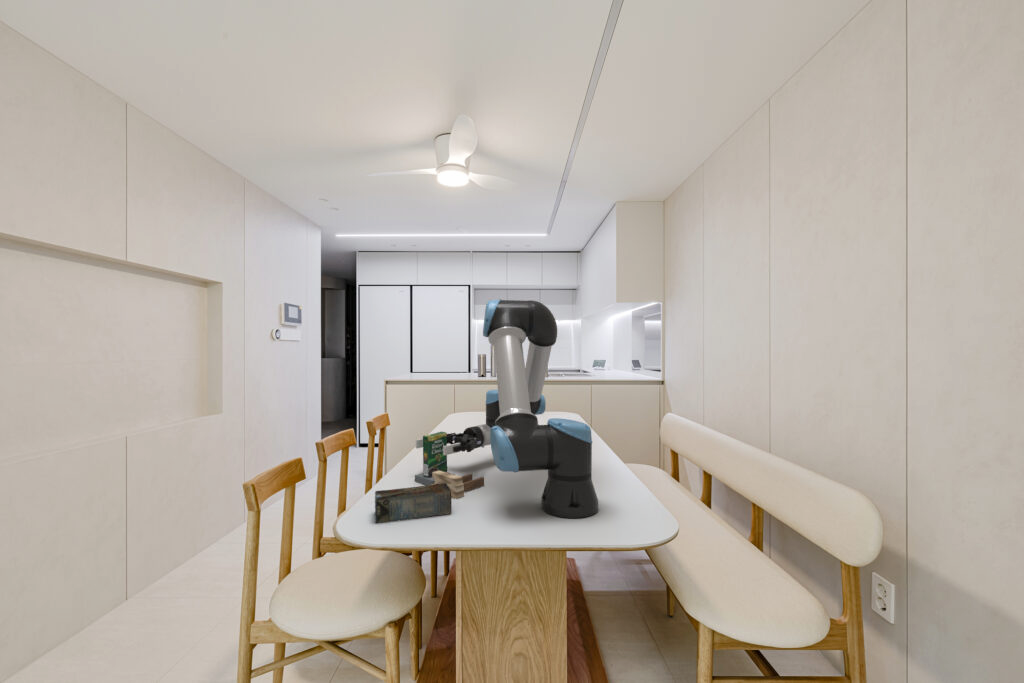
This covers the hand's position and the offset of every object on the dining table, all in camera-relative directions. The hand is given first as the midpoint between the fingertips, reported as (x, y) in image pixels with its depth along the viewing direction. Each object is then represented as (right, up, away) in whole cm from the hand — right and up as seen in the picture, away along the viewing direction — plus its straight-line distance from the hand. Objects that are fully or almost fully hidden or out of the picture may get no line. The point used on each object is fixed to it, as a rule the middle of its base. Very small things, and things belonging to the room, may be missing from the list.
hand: (429, 447), depth 137 cm
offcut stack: (+7, -11, -10) cm, 16 cm away
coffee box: (+1, -9, +2) cm, 10 cm away
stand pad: (+1, -11, +2) cm, 11 cm away
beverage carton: (+1, -11, -25) cm, 28 cm away
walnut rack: (+13, -11, -4) cm, 17 cm away
